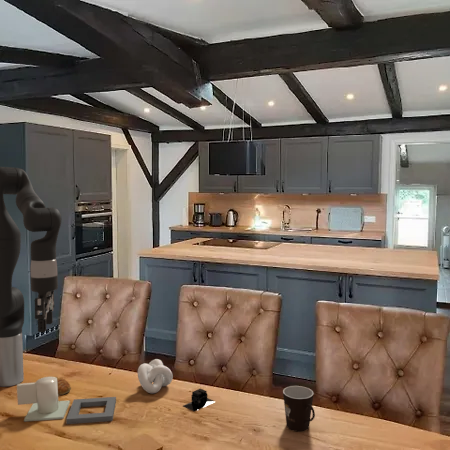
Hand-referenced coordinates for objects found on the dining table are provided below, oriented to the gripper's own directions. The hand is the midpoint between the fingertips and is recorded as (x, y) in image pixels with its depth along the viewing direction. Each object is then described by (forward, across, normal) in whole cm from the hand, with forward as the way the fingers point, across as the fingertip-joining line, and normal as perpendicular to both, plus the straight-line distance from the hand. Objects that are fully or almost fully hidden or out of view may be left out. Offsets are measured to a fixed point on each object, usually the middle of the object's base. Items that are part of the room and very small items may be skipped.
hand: (45, 327), depth 141 cm
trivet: (+26, 0, 0) cm, 26 cm away
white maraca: (+25, 0, +3) cm, 26 cm away
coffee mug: (+26, -22, -72) cm, 80 cm away
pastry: (+27, +16, 0) cm, 31 cm away
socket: (+26, -2, -14) cm, 29 cm away
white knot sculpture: (+26, +12, -32) cm, 43 cm away
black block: (+27, -2, -46) cm, 54 cm away
